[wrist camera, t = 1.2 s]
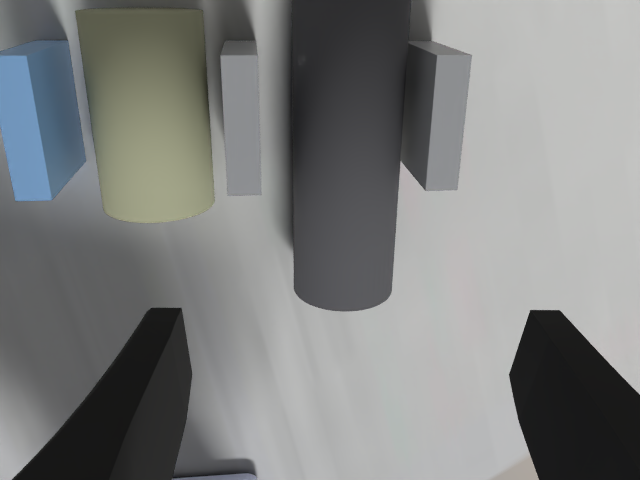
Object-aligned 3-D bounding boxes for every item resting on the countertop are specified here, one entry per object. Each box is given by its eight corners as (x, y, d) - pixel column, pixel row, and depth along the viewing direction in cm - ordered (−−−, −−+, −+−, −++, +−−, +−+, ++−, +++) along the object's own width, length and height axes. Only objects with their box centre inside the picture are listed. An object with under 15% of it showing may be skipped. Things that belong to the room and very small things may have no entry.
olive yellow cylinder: (212, 183, 22) (216, 218, 19) (109, 188, 21) (96, 226, 18) (201, 7, 20) (204, 14, 16) (85, 7, 19) (64, 14, 16)
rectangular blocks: (423, 155, 22) (457, 189, 19) (-130, 165, 20) (-214, 206, 17) (432, 41, 21) (471, 55, 17) (-168, 40, 19) (-268, 56, 15)
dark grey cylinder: (367, 259, 24) (409, 301, 21) (281, 272, 23) (313, 318, 20) (380, -8, 20) (433, -4, 17) (277, -8, 19) (315, -4, 16)
